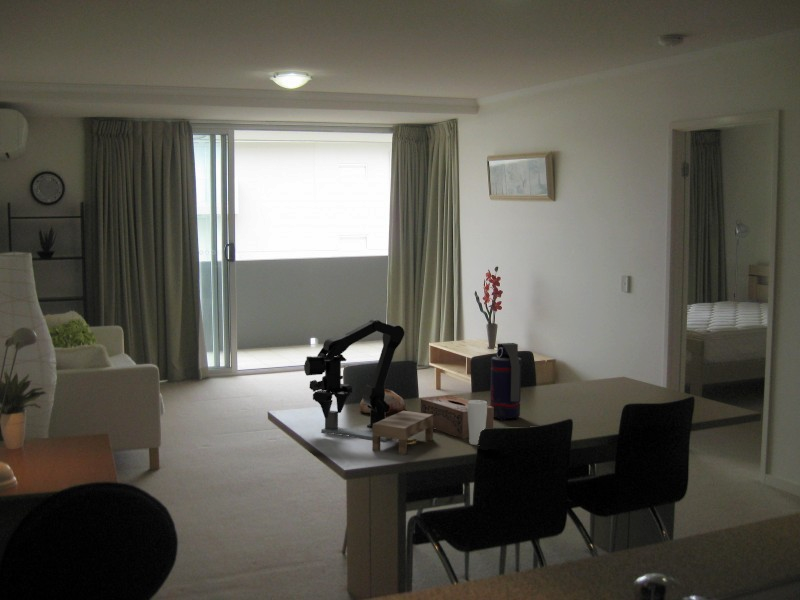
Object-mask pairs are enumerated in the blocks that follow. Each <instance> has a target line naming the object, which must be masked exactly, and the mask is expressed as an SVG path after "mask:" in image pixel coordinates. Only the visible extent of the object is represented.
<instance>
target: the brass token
mask: <svg viewBox="0 0 800 600" xmlns="http://www.w3.org/2000/svg"><path fill="white" fill-rule="evenodd" d="M414 443H415V444H417V439H416V438H414V437H410V438H408V439H407V444H411V445H415V444H414Z"/></svg>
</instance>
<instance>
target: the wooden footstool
mask: <svg viewBox="0 0 800 600" xmlns="http://www.w3.org/2000/svg"><path fill="white" fill-rule="evenodd" d="M423 431H425V434H424V435H425V437H424V438H425V439H424V440H425V441H432V440H433V438H434V428H433V414H425V413H421V412H417V411H408V410H402V411H401V412H398V413H395V414H391V415H389V416H387V417H386V418H385V419H383V420H381V421H378V422H376V423H374V424H373V427H372V432H373V440H372V447H371V449H372V451H376V452H378V451H380V450H381V441H380V439H381V437H385V438H392V439H395V440H398V454H399V455H401V454H403V456H404V454H405V455H406V453H407V452H408V449H407V448H408V445H407V439H408V438H413V437H414V436H415V435H417V434H419V433H421V432H423ZM392 439H391V440H392ZM407 454H408V453H407Z"/></svg>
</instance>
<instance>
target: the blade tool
mask: <svg viewBox="0 0 800 600" xmlns="http://www.w3.org/2000/svg"><path fill="white" fill-rule="evenodd" d="M324 419H325V420H324V428H321V430H320V432H321V433H323V432H327V433H326V434H329V433H334V434H333V435H336V434H342V435H341V436H343V435H349V436H348V437H350V436H354V437H353V438H357V437H359V439H364V438H366V439H365V440H371V439H372V441H373V431H370V430H369V431H367V430H361V429H360V430H359V429H354V428H345V427H339V413H338V410H331V409H330V412H329V416H328V418H325V417H324ZM389 439H390V440H392V439H391V438H385V437H381V439H380V442H385V441H386V442H387V440H388V441H390V440H389Z"/></svg>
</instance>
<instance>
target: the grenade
mask: <svg viewBox="0 0 800 600" xmlns="http://www.w3.org/2000/svg"><path fill="white" fill-rule="evenodd" d="M518 349H519V345H518V343H516V342H507V343H505V342H504V343H497V350H496V351H497V352H496V354H495V356H492V357H491V360H490V361H491V362H490V365H491V368H490V394H489V395H490V397H489V398H490V399H489V400H490V401H489V404H490V405H489V406H491V407H494V417H493V418H498V421H505V419H513V418H514V419H515V420H519V418H520V416H521V391H522V390H521V388H522V387H521V386H522V357H520V356H519V354H518V353H519V350H518Z"/></svg>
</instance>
